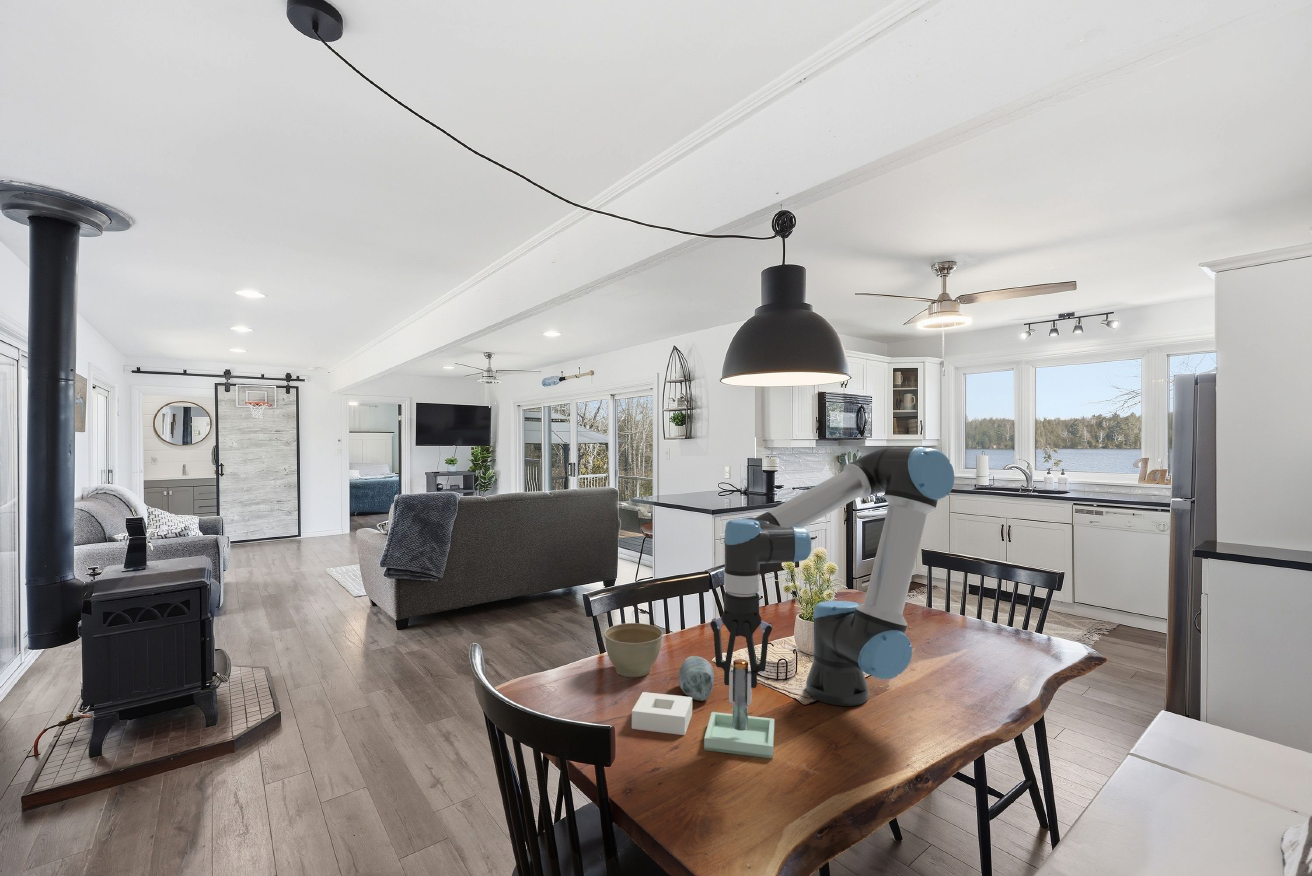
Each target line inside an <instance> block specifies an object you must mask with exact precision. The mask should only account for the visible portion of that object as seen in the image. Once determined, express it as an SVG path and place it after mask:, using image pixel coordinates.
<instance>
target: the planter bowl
mask: <svg viewBox="0 0 1312 876" xmlns="http://www.w3.org/2000/svg"><path fill="white" fill-rule="evenodd" d="M663 633H664V632H663V629H660V627H658V626H655V625H652V624H648V623H638V622H630V623H629V622H628V623H619V624H615V625H612V626H610V627H607V628H606V629H605V631H604V635H603V636H604V639H605V640H604V643H605V648H606V649H605V650H606V653H607V656H608V657H609V661H610V662H611V664H612V665H613V667H615V672H616V674H618V675H619V676H622V677H625V678H641V677H645V676H647V675H648V674H650V672H651V669H652V667H653V665H654V664H655V663H656V662H657V659H658V657H659V654H660V651H661V647H662V642H663V641H662V639H663Z"/></svg>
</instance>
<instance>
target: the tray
mask: <svg viewBox="0 0 1312 876" xmlns="http://www.w3.org/2000/svg"><path fill="white" fill-rule="evenodd" d="M706 727H707V728H706V730H705V734H704V738H703V739H704V740H703V743H704V744H703V745H704V746H703V749H704V750H703V751H710V752H719V753H724V754H725V753H727V754H731V755H732V754H734V755H740V756H749V757H757V758H764V759H771V760H773V758H774V757H773V756H774V744H775V743H774V741H775V740H774V739H775V718H770V717H762V716H754V715H753V716H752V715H748V728H747V729H746V730H743V731H740V730H736V729H734V728H733V713H726V712H716V711H711V713H710V717H709V720H708V724H707V726H706Z"/></svg>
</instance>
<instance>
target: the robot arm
mask: <svg viewBox="0 0 1312 876" xmlns="http://www.w3.org/2000/svg"><path fill="white" fill-rule="evenodd" d="M954 483H955V471H954V467H953V465H952V463H950V459H949V457H948V456H947V455H946V454H944V453H943V452H942V451H941V450H938V449H935V448H929V447H924V446H918V447H914V446H913V447H912V446H911V447H909V446H908V447H907V446H886V447H882V448H879V449H876V450H874V451H872V452H870V453H867V454H865V455H863V456H861V457H859V458H857V459H855V460H853V461H850V462H849V463H847V464H846V465H845V466H844V468H843V469H842V471H841V472H839V473H838V474H835V475H834V476H832V477H830V478H828V479H826V480H824V481H823V482H820V483H817V485H815V486H813V487H812V488H809V489H807V490H806V491H804V492H801V493H800V494H798V495H796V496H794V497H792V498H790V499H789V500H786V501H785V502H783V503H781V504H779V505H777V506H776V507H774V508H771V509H769V510H768V511H766V512H764V513H762V514H759V515H758V516H755V517H743V518H736V519H734V518H733V519H730V520H728V521H727V522H726V524H725V529H724V539H723V543H724V572H723V575H724V577H723V578H724V579H723V590H724V591H725V592H724V593H723V612H722V615H721V616H720V617H718V618H715V617H713V618H712V619H711V621H710V625H709V626H710V627H711V630H712V632H713V641H714V642H713V643H714V644H713V645H714V655H715V656H714V657H715V659H714V661H715V666H716V667H717V668H720V669H722V670H723V672H724V673H723V684H724V685H725V686H728V703H731V704H733V666H732V667H731V665H732V659H733V656H734V655H733V654H734V650H735V649H734V648H735V645H736V644H735V643H736V637H743V638H745V642H746V646H747V653H748V662H749V667H750V668H748V676H747V705H748V706H749V705H752V697H753V696H752V693H753V689H757V687H758V686H757V685H758V673H760V672H762V673H764V672H766V667H767V666H766V665H767V658H768V657H767V654H768V645H769V644H768V643H769V637H770V635H771V633H772V631H773V623H771V622H766V621H764V620H762V617H761V615H760V595H759V592H760V577H761V576H760V569H761V568H760V567H761V564H774V563H775V564H776V563H777V564H778V563H795V562H801V561H806V560H807V559H808V558H809V557H810V555H811V552H812V539H811V535H810V534H809V532H808V530H806V529H805V528H804V527H807V526H808V525H810V524H812V523H815V522H816V521H818V520H820V519H821V518H823V517H825V516H827V515H829V514H830V513H832V512H834V511H836V510H839V509H840V508H841V507H843V506H845V505H848V504H849V503H850V502H851V503H852V502H853V501H855V500H856V499H858V498H860V499H866V498H869V497H870V496H873V495H875V494H880V493H884V495H883V497H884V499H885V500H886V502H887V504H888V507H887V511H886V514H885V518H884V523H883V526H882V531H881V535H880V538H879V542H878V546H877V551H876V554H875V558H874V562H873V565H872V571H871V574H870V578H869V582H868V586H867V591H866V593H865V598H864V601H863V603H861V604H860V603H859V602H854V601H847V600H826V601H821V602H818V603H817V604H816V605H815V606H814V608H813V617H812V619H813V661H812V664H811V667H810V669H809V672H808V675H807V677H806V684H805V686H806V688H805V689H806V692H807V694H808V695H809V696H810V697H811V696H812V698H813V699H814V700H817V701H819V702H822V703H824V704H829V705H833V706H840V707H852V706H853V707H854V706H859V705H862V704H864V703H866V702H867V701H868V700H869V686H868V682H867V681H866V680H867V679H866V676H865V674H866V675H869V676H872V677H874V678H876V679H879V680H883V681H885V680H891V679H895V678H896V677H897V676H898V675H901V674H902V673H903V672H904V671H905V670H906V669H907V668H908V666H909V665H910V662H911V660H912V657H913V645H912V643H911V640H910V638H909V637H908V636H907V635H906V632H907V627H908V622H907V620H906V619H905V617H904V615H903V612H904V609H905V606H906V601H907V597H908V592H909V589H910V585H911V581H912V577H913V573H914V568H915V565H916V562H917V561H916V560H917V556H918V553H919V548H920V544H921V541H922V535H923V532H924V528H925V525H926V524H925V523H926V519H927V516H928V514H930V513H932V512H933V511H935V510H936V509H937V505H938V502H939V500H941V499H943V498H945V497H946V496H947V495H949V494H950V493H951V492H952V489H953V487H954ZM723 624H724V627H725V628H726V629H727V631H728V632H729V637H728V645H727V650H726V655H725V660H724V659H723V648H722V637H721V636H722V634H721V633H722V632H721V629H722V626H723ZM759 627H760V632H761V633H763V634H762V639H761V647H760V648H761V649H760V661H759V663H758V661H757V656H756V650H755V648H756V647H755V643H754V633H755V631H756V630H757V629H758V628H759Z"/></svg>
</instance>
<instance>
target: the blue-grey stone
mask: <svg viewBox="0 0 1312 876" xmlns="http://www.w3.org/2000/svg"><path fill="white" fill-rule="evenodd" d="M679 668H680V669H679V672H678V678H677V679H678V686H679V688H680V689H681V691H682V692H683V693H684V694H685V695H686V696H687V697H692V700H695V701H700V702H703V701H706V700H707V699H708V698H709V697H710V695H711V694H712V690H713V688H714V683H715V682H714V679H715V671H714V667H713V665H712V664H711V663H710V662H709V661H708V660H707V659H705V658H704V657H702V656H699V655H691V656H689V657H687V658H685V660H683V662H682V664H681V665H680V667H679Z"/></svg>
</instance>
